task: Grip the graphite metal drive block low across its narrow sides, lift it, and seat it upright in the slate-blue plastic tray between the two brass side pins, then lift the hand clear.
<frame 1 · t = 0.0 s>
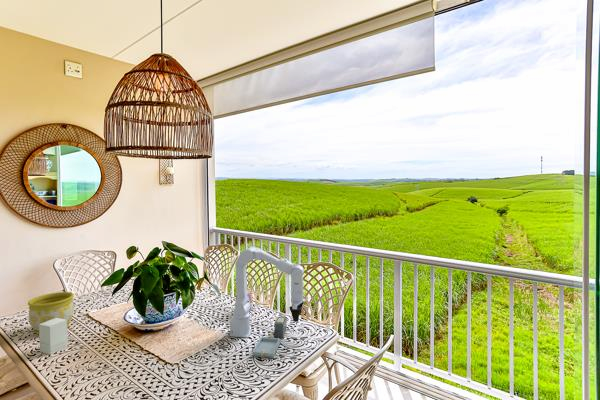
hand: (297, 317, 143), 10 cm above the table, fingers open, 7 cm apart
drive: (280, 333, 147), on the table
flowerpot: (52, 329, 151), on the table
pin tray: (266, 349, 133), on the table
box: (243, 312, 172), on the table
supplement box: (53, 349, 132), on the table
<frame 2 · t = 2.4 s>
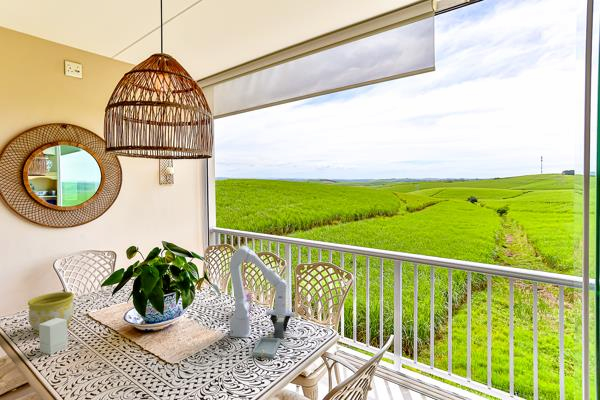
hand: (280, 330, 147), 2 cm above the table, fingers closed on drive, 4 cm apart
drive: (280, 333, 147), on the table, touching gripper
everything else where it was.
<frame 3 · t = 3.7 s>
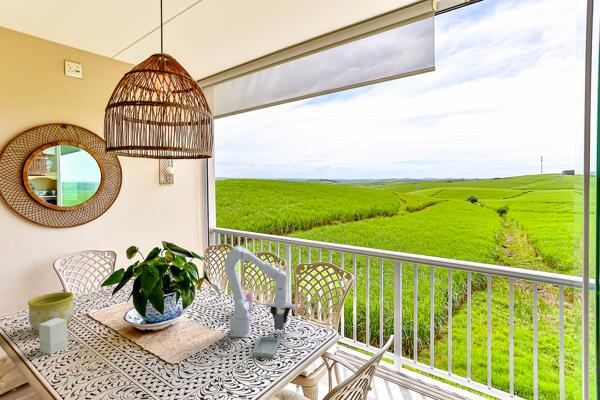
hand: (280, 322, 147), 6 cm above the table, fingers closed on drive, 4 cm apart
drive: (280, 325, 147), point 4 cm above the table, touching gripper
everything else where it was.
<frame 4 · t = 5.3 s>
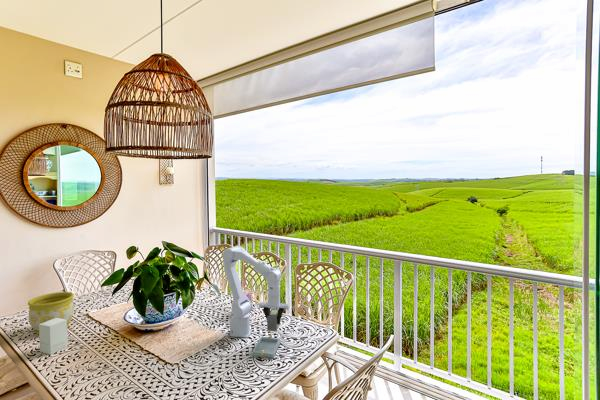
hand: (273, 323, 140), 9 cm above the table, fingers closed on drive, 4 cm apart
drive: (273, 327, 140), point 7 cm above the table, touching gripper
everything else where it was.
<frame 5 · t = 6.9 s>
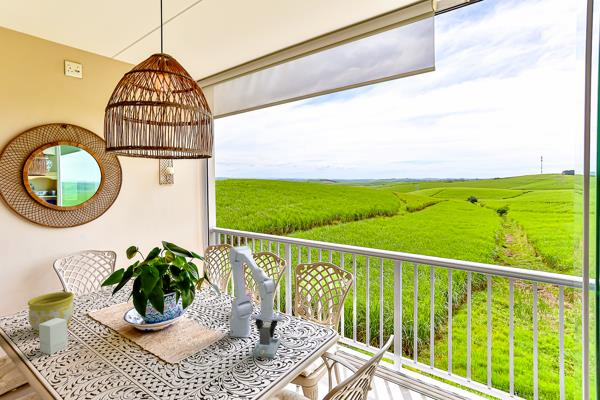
hand: (266, 336, 133), 6 cm above the table, fingers closed on drive, 4 cm apart
drive: (266, 340, 133), point 4 cm above the table, touching gripper
everything else where it was.
when the fingers open (4 cm above the table, at t = 8.3 s): drive drops 1 cm, resting on pin tray.
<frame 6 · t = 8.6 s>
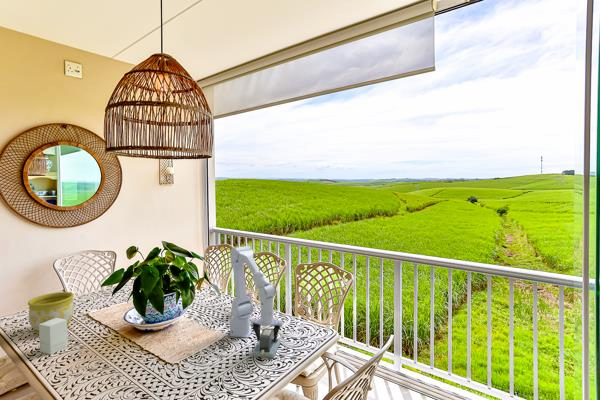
hand: (266, 340, 133), 4 cm above the table, fingers open, 7 cm apart
drive: (266, 347, 133), point 1 cm above the table, touching pin tray
everything else where it was.
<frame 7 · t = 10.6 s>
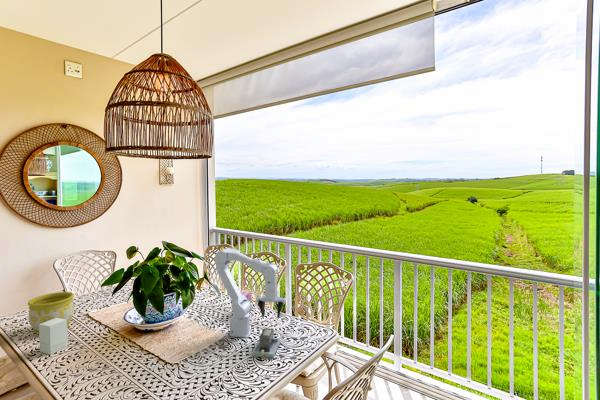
hand: (270, 316, 143), 10 cm above the table, fingers open, 7 cm apart
nothing on the table moved.
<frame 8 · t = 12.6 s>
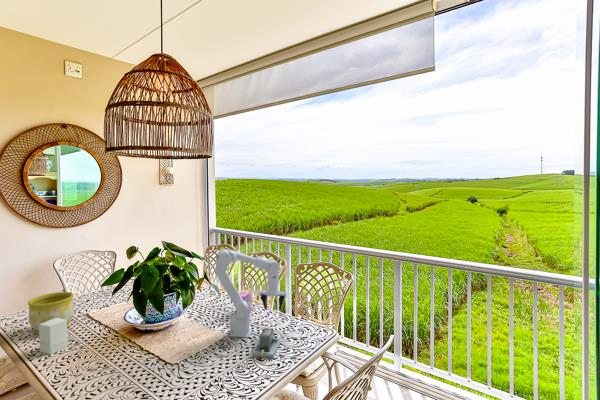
hand: (272, 309, 152), 10 cm above the table, fingers open, 7 cm apart
nothing on the table moved.
at the end: drive 0.1 cm off-centre on the pin tray, point 0.6 cm above the pin tray's base; drive tilted 0°; the gripper is holding nothing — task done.
